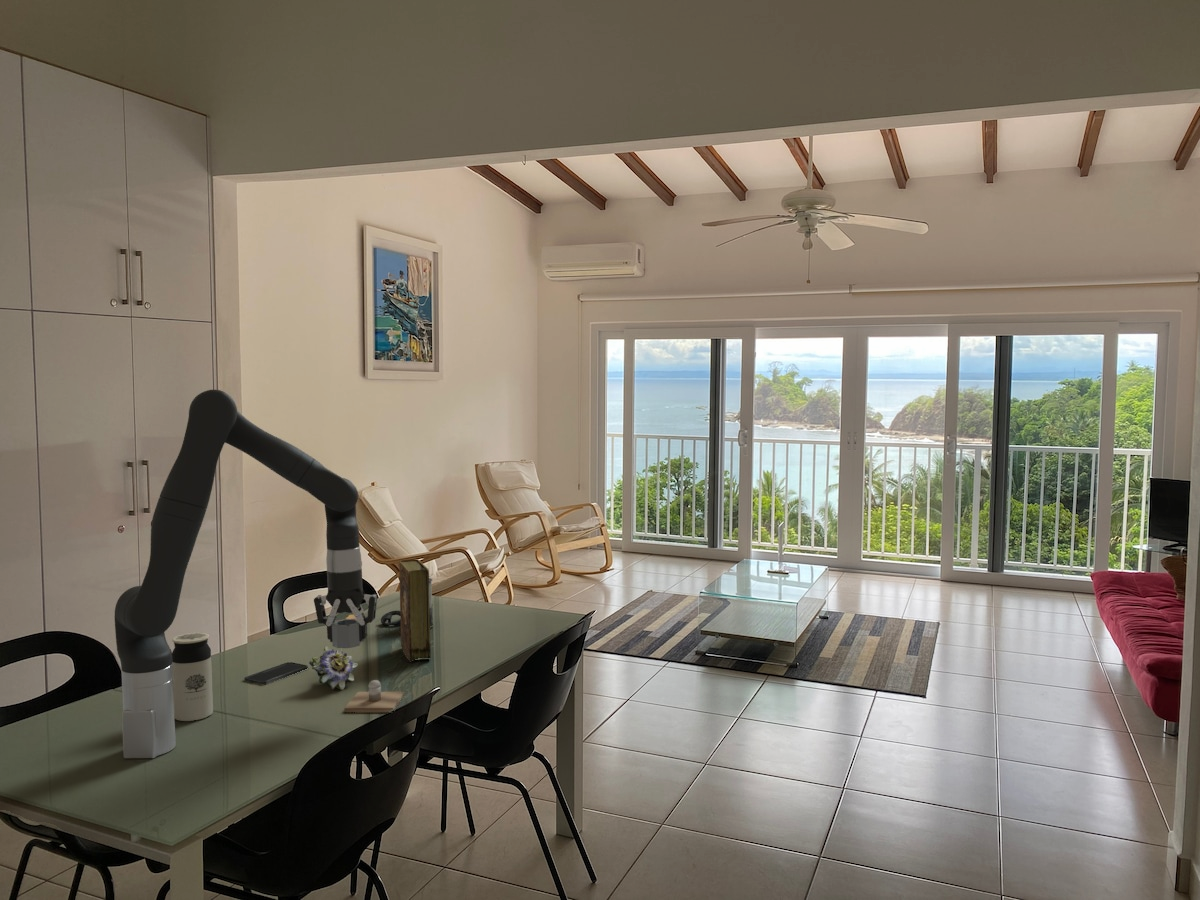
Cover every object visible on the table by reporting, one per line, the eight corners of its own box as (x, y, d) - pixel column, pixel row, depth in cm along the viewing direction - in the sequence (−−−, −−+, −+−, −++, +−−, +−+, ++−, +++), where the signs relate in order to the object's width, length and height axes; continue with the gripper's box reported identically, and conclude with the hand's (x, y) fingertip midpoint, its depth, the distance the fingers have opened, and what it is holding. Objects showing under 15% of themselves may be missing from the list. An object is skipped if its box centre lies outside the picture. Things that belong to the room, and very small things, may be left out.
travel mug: (175, 712, 201) (172, 634, 200) (214, 707, 204) (211, 630, 203) (172, 724, 194) (169, 643, 193) (212, 719, 197) (209, 639, 196)
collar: (357, 647, 197) (356, 625, 196) (330, 648, 197) (329, 626, 196) (368, 635, 206) (367, 614, 206) (342, 635, 206) (341, 614, 206)
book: (400, 647, 251) (398, 560, 250) (419, 645, 253) (417, 558, 252) (410, 663, 236) (408, 571, 235) (430, 661, 238) (428, 569, 237)
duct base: (393, 712, 200) (392, 688, 200) (344, 712, 200) (343, 688, 200) (404, 695, 211) (403, 672, 211) (358, 695, 211) (357, 672, 211)
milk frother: (434, 630, 270) (433, 582, 269) (381, 634, 266) (379, 585, 265) (431, 618, 283) (430, 573, 283) (380, 622, 280) (379, 575, 279)
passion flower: (341, 710, 217) (326, 681, 209) (308, 696, 222) (292, 667, 214) (370, 675, 224) (356, 645, 217) (338, 661, 229) (323, 632, 221)
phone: (310, 666, 233) (264, 682, 220) (310, 670, 233) (264, 686, 220) (288, 661, 236) (242, 677, 223) (288, 665, 237) (242, 682, 223)
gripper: (306, 571, 195) (310, 646, 196) (371, 570, 195) (375, 645, 196) (317, 564, 202) (321, 636, 204) (380, 563, 202) (383, 635, 203)
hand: (347, 640), depth 200 cm, fingers closed on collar, 6 cm apart
